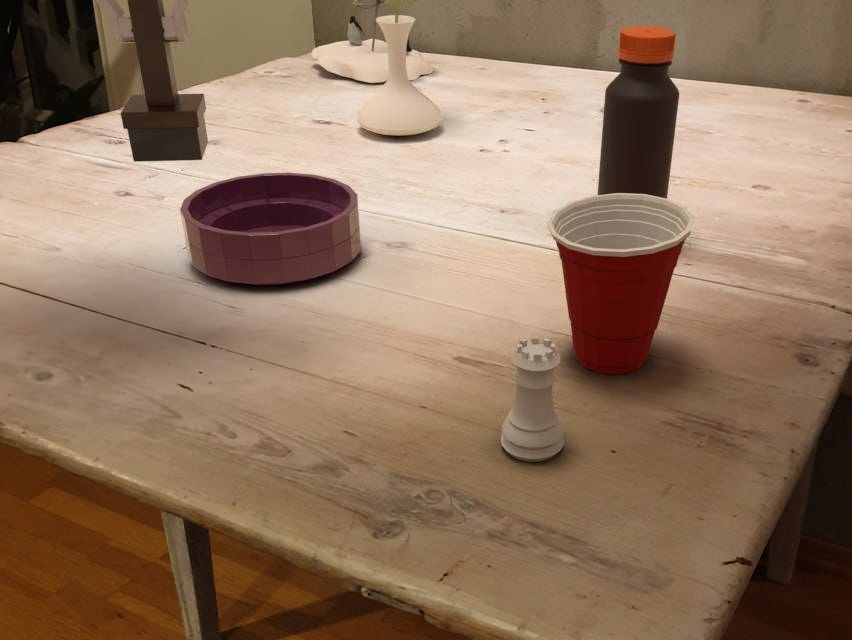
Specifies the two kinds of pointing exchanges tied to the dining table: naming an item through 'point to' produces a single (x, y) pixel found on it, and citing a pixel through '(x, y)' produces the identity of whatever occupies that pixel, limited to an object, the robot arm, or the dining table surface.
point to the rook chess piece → (533, 404)
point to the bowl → (271, 228)
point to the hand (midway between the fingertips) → (152, 41)
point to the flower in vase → (398, 87)
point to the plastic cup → (617, 273)
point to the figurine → (366, 55)
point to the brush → (161, 97)
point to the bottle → (640, 116)
